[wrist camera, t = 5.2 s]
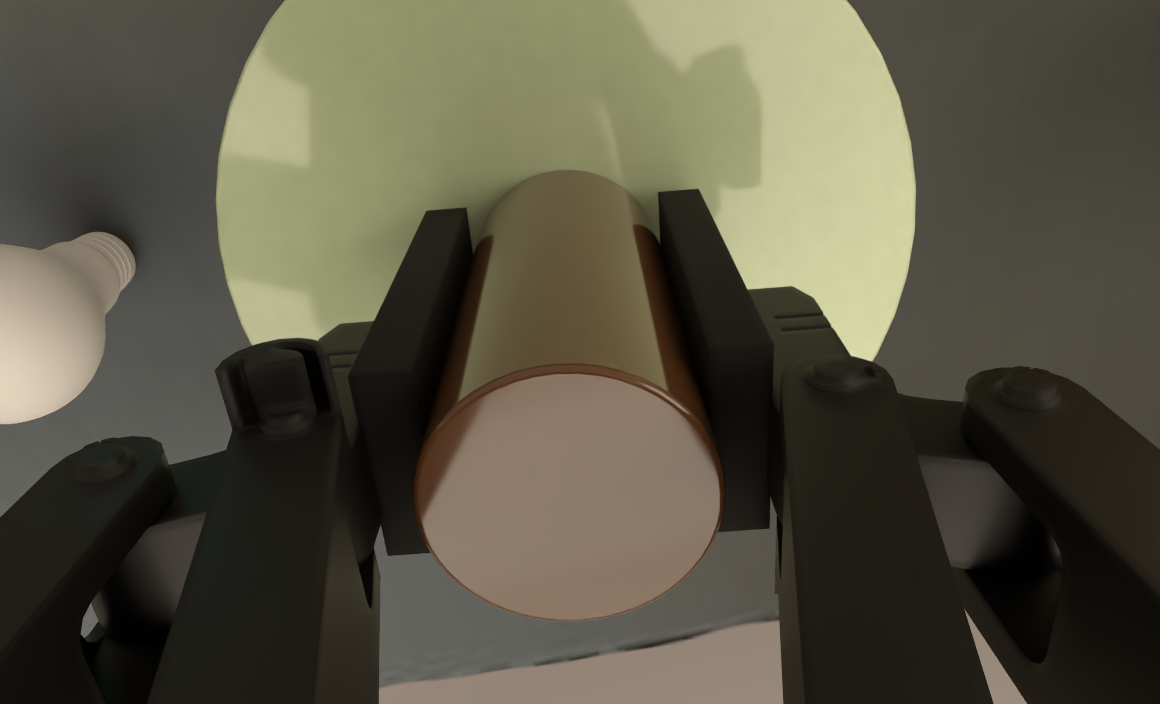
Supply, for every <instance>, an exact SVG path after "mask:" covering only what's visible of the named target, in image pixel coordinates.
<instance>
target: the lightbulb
mask: <svg viewBox="0 0 1160 704" xmlns="http://www.w3.org/2000/svg"><path fill="white" fill-rule="evenodd" d="M135 269H136V263H135V259H134V256H133V254H132V252H131V250H130V249H129V247H128V246H127V245H126V244H125V243H124V242H123V241H122V240H120V239H119V238H117V237H115V236H113V235H111V234H108V233H105V232H91V233H87V234H85V235H82V236H80V237H78V238H76V239H74V240H72V241H71V242H60V243H56V244H54V245H52V246H50V247H47V248H45V249H42V250H36V249H33V248H26V247H20V246H13V245H5V244H0V424H15V423H20V422H25V421H29V420H33V419H36V418H40V417H42V416H45V415H47V414H49V413H52V412H54V411H56V410H58V409H60V408H61V407H63V406H65V405H66V404H68V403H69V402H70V401H72V400H73V399H74V398H76V397H77V396H78V395H79V394H80V393H81V392H82V391H83V390H84V389H85V388H86V386H87V385H88V384H89V382H90V381H91V380H92V379H93V377H94V375H95V372H96V370H97V368H98V366H99V364H100V362H101V359H102V357H103V353H104V347H105V315H106V313H107V312H108V311H109V310H110V309H111V308H112V307H113V305H114V304H115V303H116V301H117V299H118V296H119V293H120V292H121V291H122V289H124V288H125V287H126V285H127V284H128V283H129V282H130V281H131V279H132V278H133V276H134V274H135Z"/></svg>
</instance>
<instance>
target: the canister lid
mask: <svg viewBox="0 0 1160 704" xmlns="http://www.w3.org/2000/svg"><path fill="white" fill-rule="evenodd" d="M688 189H699V190H700V192H701V194H702V196H703V199H704V201H705V203H706V205H707V207H708V209H709V211H710V213H711V215H712V217H713V219H714V221H715V223H716V225H717V227H718V230H719V232H720V234H721V236H722V238H723V240H724V242H725V244H726V246H727V248H728V250H729V252H730V254H731V256H732V259H733V261H734V263H735V265H736V267H737V269H738V271H739V273H740V275H741V277H742V279H743V281H744V283H745V285H746V287H747V290H748V289H761V288H773V287H786V286H793V287H795V288H797V289H799V290H800V291H802V292H804V293H806V294H808V295H809V296H811V297H813V298H814V299H815V301H816V302H817V304H818V305H819V307H820V308H821V310H822V311H823V315H824V316H826V318H827V319H828V321H829V322H830V324H831V328H834V330H835V331H836V333H837V335H838V336H839V338H840V339H841V341H842V342H843V344H844V345H845V347H846V349H847V350H848V352H849V353H850V355H851V356H854V357H858V358H861V359H865V360H868V361H873V359H874V358H875V356H876V354H877V353H878V351H879V349H880V346H881V344H882V342H883V340H884V338H885V335H886V333H887V331H888V329H889V327H890V324H891V322H892V320H893V318H894V316H895V313H896V310H897V306H898V303H899V300H900V297H901V293H902V290H903V287H904V284H905V280H906V277H907V274H908V268H909V262H910V256H911V250H912V244H913V238H914V232H915V202H916V182H915V173H914V164H913V155H912V146H911V140H910V136H909V132H908V128H907V124H906V120H905V116H904V112H903V108H902V105H901V101H900V97H899V94H898V92H897V90H896V87H895V85H894V82H893V80H892V78H891V75H890V73H889V70H888V68H887V66H886V63H885V61H884V58H883V56H882V54H881V52H880V50H879V48H878V47H877V45H876V43H875V42H874V40H873V38H872V37H871V35H870V33H869V32H868V30H867V28H866V27H865V25H864V23H863V22H862V20H861V18H860V17H859V15H858V13H857V12H856V10H855V9H854V8H853V7H852V6H851V4H850V3H849V2H848V1H847V0H284V1H283V2H282V4H281V5H280V6H279V8H278V9H277V10H276V11H275V13H274V14H273V15H272V17H271V18H270V19H269V21H268V23H267V24H266V26H265V28H264V30H263V32H262V33H261V35H260V37H259V39H258V41H257V42H256V44H255V46H254V48H253V50H252V51H251V53H250V55H249V57H248V59H247V61H246V62H245V65H244V67H243V70H242V73H241V75H240V78H239V81H238V83H237V86H236V89H235V92H234V94H233V97H232V100H231V102H230V105H229V108H228V112H227V117H226V121H225V126H224V131H223V135H222V140H221V145H220V149H219V156H218V170H217V185H216V212H217V226H218V240H219V247H220V251H221V256H222V261H223V266H224V271H225V275H226V280H227V285H228V288H229V291H230V294H231V297H232V299H233V302H234V305H235V308H236V311H237V314H238V316H239V319H240V322H241V325H242V327H243V329H244V331H245V333H246V335H247V337H248V339H249V341H250V343H251V345H252V346H253V345H255V344H258V343H263V342H267V341H272V340H276V339H286V338H305V339H313V340H316V341H318V340H319V338H321V337H322V336H324V335H325V334H326V333H328V332H329V331H331V330H332V329H333V328H335V327H336V326H338V325H339V324H342V323H355V322H367V321H374V320H375V318H376V316H377V313H378V311H379V309H380V307H381V305H382V303H383V301H384V299H385V297H386V295H387V292H388V290H389V288H390V286H391V284H392V282H393V280H394V278H395V276H396V273H397V271H398V269H399V267H400V265H401V263H402V261H403V259H404V257H405V254H406V252H407V250H408V248H409V246H410V244H411V242H412V240H413V238H414V235H415V233H416V231H417V229H418V227H419V225H420V223H421V221H422V219H423V216H424V214H425V212H426V211H428V210H440V209H452V208H465V207H467V215H468V222H469V229H470V236H471V243H472V250H473V258H472V262H471V265H470V269H469V273H468V276H467V280H466V284H465V287H464V291H463V295H462V298H461V302H460V306H459V309H458V313H457V317H456V320H455V324H454V328H453V331H452V335H451V339H450V342H449V346H448V350H447V353H446V357H445V361H444V364H443V368H442V372H441V375H440V379H439V383H438V386H437V390H436V394H435V397H434V401H433V405H432V408H431V412H430V416H429V419H428V423H427V427H426V430H425V434H424V438H423V441H422V445H421V449H420V452H419V456H418V460H417V463H416V468H415V473H414V478H413V504H414V512H415V516H416V520H417V523H418V527H419V530H420V532H421V534H422V537H423V539H424V541H425V543H426V545H427V548H428V549H429V551H430V552H431V554H432V555H433V557H434V558H435V560H436V561H437V563H438V564H439V565H440V566H441V567H442V569H443V570H444V571H445V572H446V573H447V574H448V575H449V576H450V577H451V578H452V579H453V580H454V581H455V582H456V583H458V584H459V585H460V586H461V587H462V588H464V589H465V590H467V591H468V592H470V593H471V594H472V595H474V596H475V597H477V598H479V599H481V600H483V601H484V602H486V603H488V604H490V605H492V606H495V607H497V608H499V609H502V610H504V611H507V612H510V613H513V614H517V615H520V616H524V617H528V618H533V619H539V620H545V621H557V622H582V621H590V620H599V619H604V618H608V617H613V616H617V615H621V614H624V613H627V612H630V611H633V610H636V609H638V608H640V607H642V606H645V605H647V604H649V603H651V602H653V601H655V600H657V599H658V598H660V597H662V596H663V595H665V594H667V593H668V592H670V591H671V590H672V589H673V588H675V587H676V586H677V585H679V584H680V583H681V582H682V581H683V580H685V579H686V578H687V577H688V576H689V575H690V574H691V573H692V572H693V571H694V570H695V568H696V567H697V566H698V565H699V563H700V562H701V561H702V559H703V558H704V557H705V555H706V554H707V552H708V550H709V549H710V547H711V545H712V543H713V542H714V539H715V537H716V534H717V532H718V530H719V527H720V525H721V521H722V517H723V513H724V508H725V498H726V484H725V473H724V469H723V465H722V461H721V457H720V453H719V450H718V446H717V443H716V439H715V436H714V432H713V429H712V425H711V422H710V418H709V415H708V411H707V408H706V404H705V401H704V397H703V394H702V390H701V387H700V383H699V380H698V376H697V373H696V369H695V366H694V362H693V359H692V355H691V352H690V348H689V345H688V341H687V338H686V334H685V331H684V327H683V324H682V321H681V317H680V314H679V310H678V307H677V303H676V300H675V296H674V293H673V289H672V286H671V282H670V279H669V275H668V272H667V268H666V265H665V261H664V258H663V254H662V251H661V247H660V230H659V204H658V192H663V191H676V190H688Z"/></svg>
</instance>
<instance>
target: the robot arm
mask: <svg viewBox="0 0 1160 704" xmlns="http://www.w3.org/2000/svg"><path fill="white" fill-rule="evenodd" d="M658 204H659V230H660V247H661V251H662V254H663V258H664V261H665V265H666V268H667V272H668V275H669V279H670V282H671V286H672V289H673V293H674V296H675V300H676V303H677V307H678V310H679V314H680V317H681V321H682V324H683V327H684V331H685V334H686V338H687V341H688V345H689V348H690V352H691V355H692V359H693V362H694V366H695V369H696V373H697V376H698V380H699V383H700V387H701V390H702V394H703V397H704V401H705V404H706V408H707V411H708V415H709V418H710V422H711V425H712V429H713V432H714V436H715V439H716V443H717V446H718V450H719V453H720V457H721V461H722V465H723V469H724V473H725V484H726V498H725V508H724V513H723V517H722V521H721V525H720V527H719V530H718V532H726V531H740V530H754V529H768V528H769V526H770V496H771V499H772V502H773V505H774V508H775V511H776V514H777V530H776V565H775V594H778V599H779V620H780V641H781V659H782V682H783V701H784V704H993V701H992V697H991V694H990V691H989V688H988V684H987V682H986V678H985V675H984V672H983V668H982V665H981V662H980V659H979V655H978V652H977V649H976V646H975V642H974V639H973V636H972V633H971V630H970V626H969V623H968V620H967V617H966V613H965V610H966V612H967V613H968V614H969V616H970V618H971V619H972V621H973V622H974V624H975V625H976V627H977V628H978V630H979V631H980V633H981V634H982V636H983V637H984V639H985V640H986V642H987V643H988V645H989V646H990V648H991V649H992V651H993V652H994V654H995V656H996V657H997V658H998V660H999V662H1000V663H1001V664H1002V666H1003V668H1004V669H1005V671H1006V672H1007V674H1008V675H1009V677H1010V678H1011V680H1012V681H1013V683H1014V684H1015V686H1016V687H1017V689H1018V690H1019V692H1020V693H1021V695H1022V696H1023V698H1024V699H1025V701H1026V702H1027V704H1160V450H1159V449H1158V448H1157V447H1156V446H1155V445H1153V444H1152V443H1151V442H1150V441H1148V440H1147V439H1146V438H1145V437H1143V436H1142V435H1141V434H1140V433H1139V432H1137V431H1136V430H1135V429H1134V428H1132V427H1131V426H1130V425H1129V424H1128V423H1126V422H1125V421H1124V420H1123V419H1121V418H1120V417H1119V416H1118V415H1116V414H1115V413H1114V412H1113V411H1112V410H1110V409H1109V408H1108V407H1107V406H1105V405H1104V404H1103V403H1102V402H1100V401H1099V400H1098V399H1097V398H1096V397H1094V396H1093V395H1092V394H1091V393H1089V392H1088V391H1087V390H1086V389H1085V388H1083V387H1081V386H1079V385H1078V384H1076V383H1074V382H1073V381H1071V380H1069V379H1067V378H1065V377H1061V376H1058V375H1055V374H1052V373H1049V372H1048V371H1046V370H1043V369H1038V368H1033V369H1030V367H1022V366H1016V367H1014V368H996V369H991V370H986V371H982V372H979V373H978V374H976V375H974V376H973V377H971V378H970V379H968V382H967V385H966V388H965V392H964V400H963V402H956V401H945V400H934V399H925V398H918V397H911V396H907V395H903V394H899V393H897V390H896V387H895V384H894V381H893V379H892V377H891V376H890V375H889V373H888V372H887V370H886V369H884V368H882V367H881V366H879V365H877V364H875V363H873V362H872V361H868V360H865V359H861V358H858V357H854V356H851V355H850V353H849V352H848V350H847V349H846V347H845V345H844V344H843V342H842V341H841V339H840V338H839V336H838V335H837V333H836V331H835V330H834V328H831V324H830V322H829V321H828V319H827V318H826V316H824V315H823V311H822V310H821V308H820V307H819V305H818V304H817V302H816V301H815V299H814V298H813V297H811V296H809V295H808V294H806V293H804V292H802V291H800V290H799V289H797V288H795V287H793V286H786V287H773V288H761V289H748V290H747V287H746V285H745V283H744V281H743V279H742V277H741V275H740V273H739V271H738V269H737V267H736V265H735V263H734V261H733V259H732V256H731V254H730V252H729V250H728V248H727V246H726V244H725V242H724V240H723V238H722V236H721V234H720V232H719V230H718V227H717V225H716V223H715V221H714V219H713V217H712V215H711V213H710V211H709V209H708V207H707V205H706V203H705V201H704V199H703V196H702V194H701V192H700V190H699V189H688V190H676V191H663V192H658ZM472 258H473V250H472V243H471V236H470V229H469V222H468V215H467V207H465V208H452V209H440V210H428V211H426V212H425V214H424V216H423V219H422V221H421V223H420V225H419V227H418V229H417V231H416V233H415V235H414V238H413V240H412V242H411V244H410V246H409V248H408V250H407V252H406V254H405V257H404V259H403V261H402V263H401V265H400V267H399V269H398V271H397V273H396V276H395V278H394V280H393V282H392V284H391V286H390V288H389V290H388V292H387V295H386V297H385V299H384V301H383V303H382V305H381V307H380V309H379V311H378V313H377V316H376V318H375V320H374V321H367V322H355V323H342V324H339V325H338V326H336V327H335V328H333V329H332V330H331V331H329V332H328V333H326V334H325V335H324V336H322V337H321V338H319V340H318V341H316V340H313V339H305V338H286V339H276V340H272V341H267V342H263V343H258V344H255V345H253V346H250V347H248V348H245V349H242V350H240V351H237V352H236V353H234V354H233V355H231V356H229V357H228V358H226V359H225V360H223V361H222V362H221V363H220V365H219V366H218V367H217V368H216V370H215V373H216V376H217V380H218V383H219V386H220V390H221V393H222V396H223V400H224V403H225V406H226V410H227V413H228V416H229V419H230V423H231V426H232V429H233V430H232V434H231V437H230V440H229V443H228V446H227V450H225V451H222V452H218V453H215V454H212V455H208V456H204V457H200V458H196V459H192V460H188V461H184V462H180V463H176V464H172V465H169V464H168V461H167V458H166V455H165V453H164V450H163V447H162V444H161V443H160V442H158V441H156V440H154V439H152V438H150V437H137V436H130V437H123V438H109V439H104V440H101V442H100V443H99V442H98V441H97V442H94V443H92V444H89V445H86V446H85V447H83V449H81V450H79V451H77V452H75V453H73V454H71V455H69V456H67V457H65V458H64V459H63V460H61V461H60V462H59V463H57V464H56V465H55V466H53V467H52V468H51V469H50V470H49V471H48V472H47V473H46V474H44V475H43V476H42V477H41V478H40V479H39V480H38V481H37V482H36V483H35V484H34V485H33V486H32V487H31V488H30V489H29V490H28V491H27V492H26V493H25V494H24V495H23V496H22V497H21V498H20V499H19V500H18V501H17V502H16V503H15V504H14V505H13V506H12V507H11V508H10V509H9V510H8V511H6V512H5V513H4V514H3V515H2V516H1V517H0V704H379V633H380V573H379V569H378V564H377V560H376V556H375V551H374V544H375V540H376V537H377V534H378V531H379V527H380V524H381V527H382V532H383V536H384V541H385V545H386V550H387V554H388V556H392V555H406V554H420V553H431V552H430V551H429V549H428V548H427V545H426V543H425V541H424V539H423V537H422V534H421V532H420V530H419V527H418V523H417V520H416V516H415V512H414V504H413V478H414V473H415V468H416V463H417V460H418V456H419V452H420V449H421V445H422V441H423V438H424V434H425V430H426V427H427V423H428V419H429V416H430V412H431V408H432V405H433V401H434V397H435V394H436V390H437V386H438V383H439V379H440V375H441V372H442V368H443V364H444V361H445V357H446V353H447V350H448V346H449V342H450V339H451V335H452V331H453V328H454V324H455V320H456V317H457V313H458V309H459V306H460V302H461V298H462V295H463V291H464V287H465V284H466V280H467V276H468V273H469V269H470V265H471V262H472ZM90 603H91V604H92V607H93V609H94V611H95V614H96V616H97V618H98V620H99V621H98V623H97V624H96V626H95V627H94V628H93V630H92V631H91V632H90V634H89V635H88V636H87V637H85V638H83V636H82V635H81V627H82V620H83V617H84V615H85V613H86V611H87V609H88V607H89V605H90ZM964 609H965V610H964Z"/></svg>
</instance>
